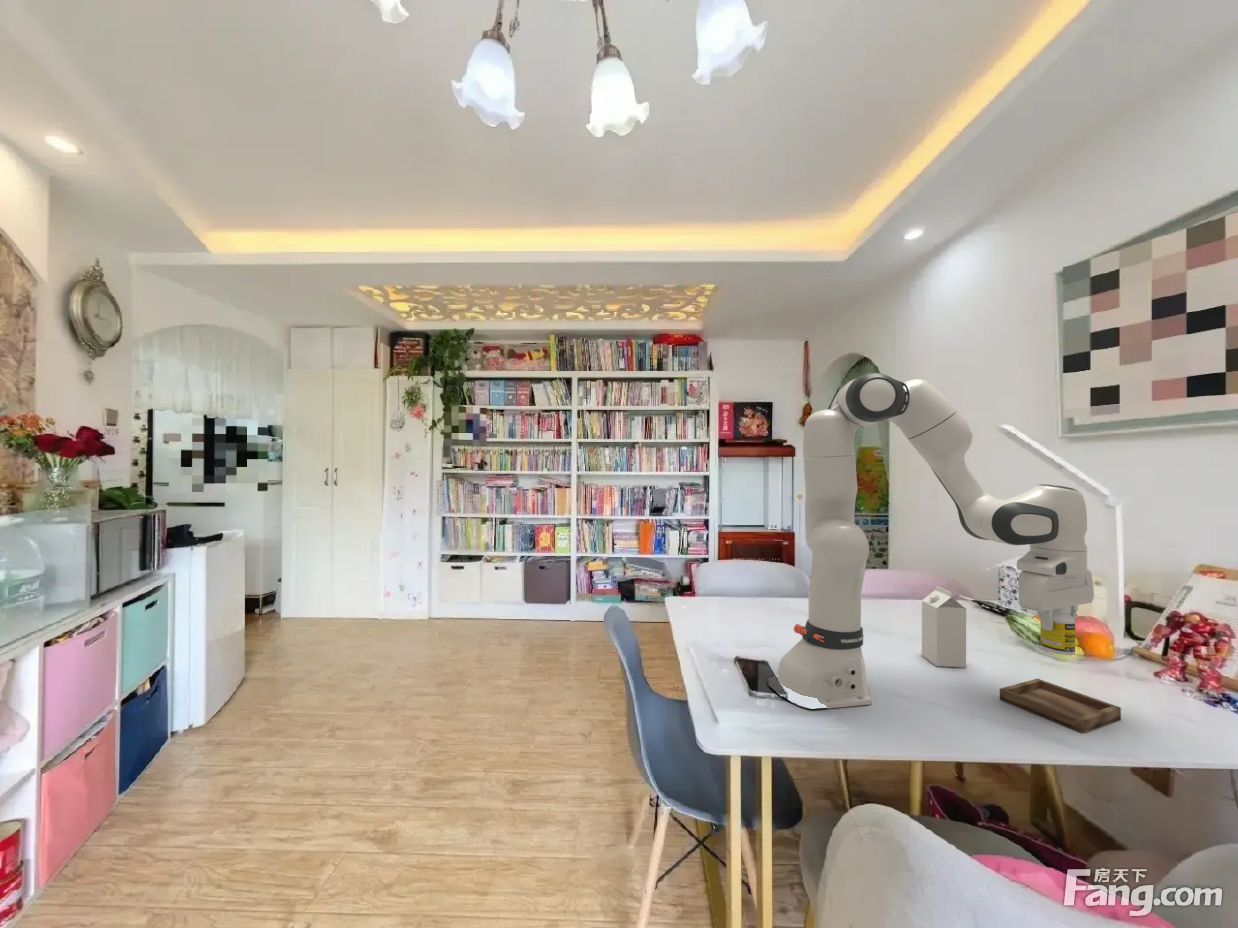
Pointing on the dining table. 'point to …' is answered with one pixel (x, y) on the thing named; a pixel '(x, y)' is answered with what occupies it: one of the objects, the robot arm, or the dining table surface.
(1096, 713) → the tray
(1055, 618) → the supplement bottle
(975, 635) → the dining table surface
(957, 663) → the milk carton
